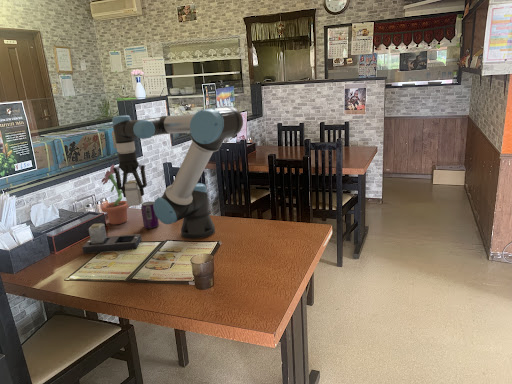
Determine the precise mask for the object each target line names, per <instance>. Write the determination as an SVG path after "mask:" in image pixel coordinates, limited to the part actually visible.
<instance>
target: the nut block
mask: <svg viewBox="0 0 512 384" xmlns="http://www.w3.org/2000/svg"><path fill="white" fill-rule="evenodd" d="M138 189H139V186H138V184H137V182H136V180H135V179H134V180H130V179H129V180H127V183H125V191H126V196H127V202H128V206H130V207H133V206H140V205H141V204H140V200H139V194H138Z"/></svg>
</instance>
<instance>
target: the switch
mask: <svg viewBox="0 0 512 384" xmlns="http://www.w3.org/2000/svg"><path fill="white" fill-rule="evenodd" d="M88 233H89V239H88V240H87V241H86V242H85V243H84V245H83V246H81V247H82V248H81V249H82V254H85V255H86V254H98V253H106V252H107V253H108V252H109V253H110V252H119V251H132V249H133V250H137V249H138V248H139V246H140V244H141V243H142V234H141V233H138V234H137V233H135V234H126V235H123V234H122V235H113V236H107V231H106V225H105V223H102V222H101V223H93V224H91V226H90V227H89V228H88ZM139 243H140V244H139ZM138 245H139V246H138Z"/></svg>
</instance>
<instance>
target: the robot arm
mask: <svg viewBox="0 0 512 384" xmlns="http://www.w3.org/2000/svg"><path fill="white" fill-rule="evenodd" d="M111 120H112V129H113V134H114V138H115V139H114V140H115V144H116V145H115V146H116V151H117V158H118V162H119V163H118V166H114V167H115V168H113V170H114V172H115V173H114V174H115V181H116V183H117V188H118V190H120V191H121V190H122V191H123V193H122V194H123V195H122V197H123V198H125V201H127V196H126V191H125V183H127V182H128V176H129V174H132V175H133V176H134V180H136V182H137V184H138V186H139V189H138V194H139V200H140V205H142V203H144V198H143V196H144V195H145V189H144V188H146V187H147V186H148V183H147V176H146V171H145V170H146V169H145V168H146V164H140V163H139V161H138V156H137V151H136V146H135V139H141V140H145V139H150V138H152V137H155V136H160V135H170V134H171V135H172V134H187V133H188V134H189V133H190V139H191V143H190V146H189V148H188V149H187V152H186V153H185V157H184V158H183V160H182V163H181V165H180V167H179V169H178V171H177V174H176V176H175V178H174V180H173V182H172V184H170V185H168V186H167V187H166V188H165V190H164V192H163V194H162V196H161V197H157V198H156V199H155V200H154V201H153V202H154V204H153V208H154V212H155V215H156V216H157V218H158V221H159V222H161V223H162V224H165V225H171V224H174V223H176V222H178V221H181V220H182V219H183V220H182V224H181V230H180V232H181V234H180V235H181V237H183V238H185V239H188V240H189V239H190V240H199V239H203V238H208V237H210V236H212V235H213V234H215V232H216V229H215V228H216V227H215V223H214V222H213V219H212V218H211V216H210V209H209V208H210V207H209V198H208V190H207V189H208V188H207V186H206V184H204V183H200V182H199V181H200V178H201V177H202V175H203V173H204V171H205V169H206V167H207V165H208V163H209V162H210V159H211V157H212V155H213V153H215V152H217V151H219V150H220V148H221V147H222V144H223V143H224V141H225V139H229V138H232V137H236V136H237V135H238V134H239V133H240V132H241V131H242V129H243V126H244V118H243V115H242V113H241V111H240V110H238V109H237V108H236V107H233V106H229V105H228V106H227V105H225V106H219V107H208V108H204V109H200V110H198V111H197V112H196V113H189V114H179V115H163V116H157V117H150V118H145V119H134V120H133V119H132V118H131V116H130V115H125V114H124V115H117V116H113V117H112V118H111ZM138 168H139V170H140V176H141V179H140V176H139V174H138V171H137V169H138ZM120 170H121V171H122V176H123V177H122V180H121V173H120V172H121V171H120ZM127 205H128V202H127Z"/></svg>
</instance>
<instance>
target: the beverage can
mask: <svg viewBox="0 0 512 384" xmlns="http://www.w3.org/2000/svg"><path fill="white" fill-rule="evenodd" d="M153 204H154V201H145V202H144V201H143V203H142V204H141V208H140V210H141V216H142V223H143V224H142V225H143V228H146V229H154V228H157V227H158V226H159V224H160V221H159V219H158V218H157V216H156V215H155V212H154V208H153Z"/></svg>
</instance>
